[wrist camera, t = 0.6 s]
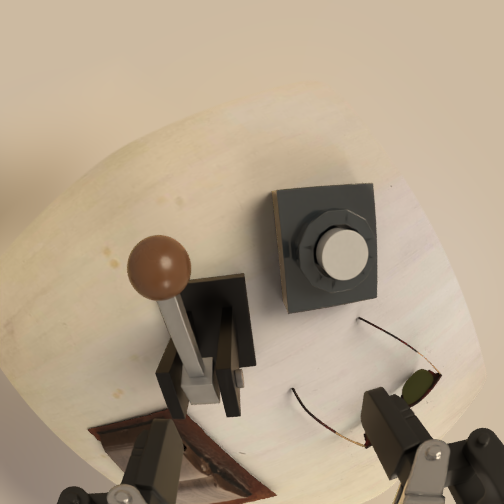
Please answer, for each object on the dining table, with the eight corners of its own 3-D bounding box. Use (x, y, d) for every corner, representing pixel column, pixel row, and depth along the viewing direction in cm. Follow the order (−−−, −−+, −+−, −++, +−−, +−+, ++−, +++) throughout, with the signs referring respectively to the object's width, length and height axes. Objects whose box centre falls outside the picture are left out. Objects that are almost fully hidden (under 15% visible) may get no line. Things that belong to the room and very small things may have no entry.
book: (180, 399, 30) (171, 424, 26) (278, 492, 35) (279, 511, 30) (87, 423, 32) (76, 440, 28) (188, 506, 37) (185, 521, 33)
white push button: (313, 230, 22) (320, 233, 20) (358, 225, 22) (367, 227, 21) (317, 277, 23) (323, 284, 21) (360, 271, 23) (368, 276, 21)
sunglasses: (356, 429, 33) (366, 451, 28) (282, 389, 32) (286, 414, 27) (426, 358, 31) (444, 375, 26) (362, 302, 30) (380, 318, 25)
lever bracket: (164, 282, 27) (121, 336, 15) (244, 273, 27) (249, 326, 16) (184, 366, 29) (164, 442, 17) (255, 359, 29) (265, 437, 18)
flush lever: (129, 229, 14) (109, 262, 11) (187, 220, 14) (178, 252, 11) (186, 375, 20) (184, 409, 18) (225, 372, 20) (227, 407, 18)
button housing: (271, 191, 26) (279, 189, 21) (358, 184, 26) (382, 182, 21) (282, 301, 28) (291, 322, 23) (364, 288, 28) (385, 304, 23)
